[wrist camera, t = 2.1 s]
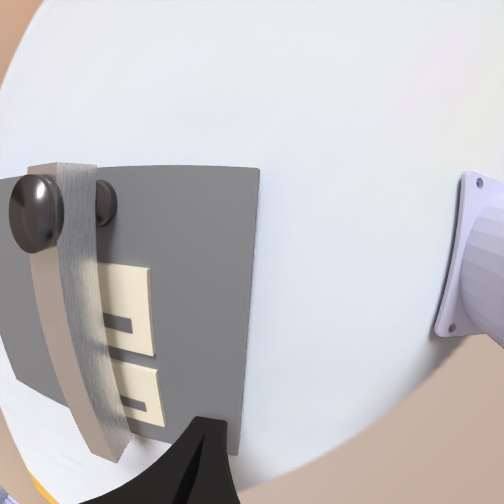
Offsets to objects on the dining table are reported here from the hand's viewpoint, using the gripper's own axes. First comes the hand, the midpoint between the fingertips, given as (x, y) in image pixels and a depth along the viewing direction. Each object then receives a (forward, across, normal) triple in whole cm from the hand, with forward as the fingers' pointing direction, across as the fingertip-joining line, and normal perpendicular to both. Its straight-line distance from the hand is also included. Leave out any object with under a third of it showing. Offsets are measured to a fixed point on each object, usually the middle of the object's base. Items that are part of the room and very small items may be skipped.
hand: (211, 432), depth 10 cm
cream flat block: (+3, +5, 0) cm, 6 cm away
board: (+3, +8, -3) cm, 9 cm away
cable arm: (+1, +5, -4) cm, 7 cm away
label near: (+2, +5, -5) cm, 7 cm away
